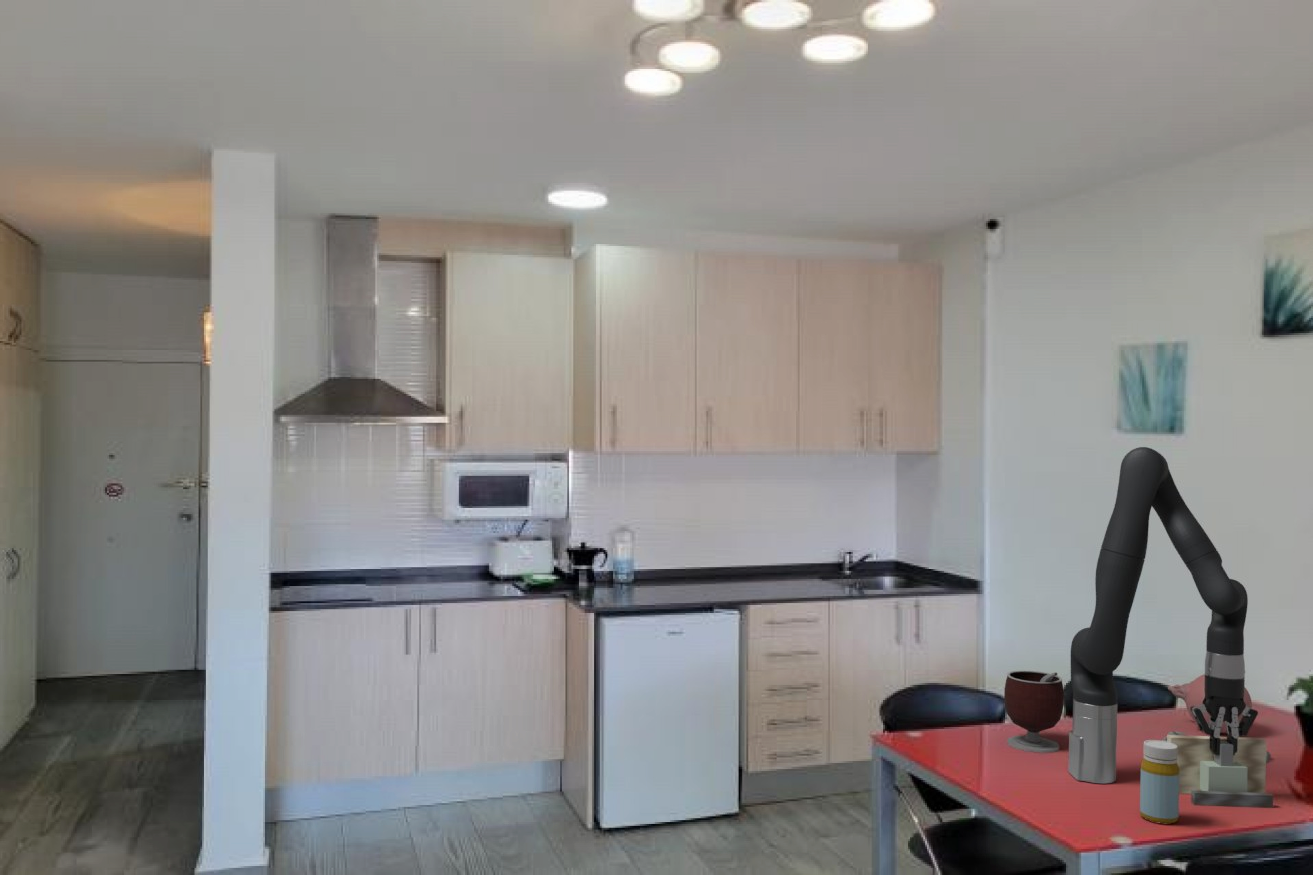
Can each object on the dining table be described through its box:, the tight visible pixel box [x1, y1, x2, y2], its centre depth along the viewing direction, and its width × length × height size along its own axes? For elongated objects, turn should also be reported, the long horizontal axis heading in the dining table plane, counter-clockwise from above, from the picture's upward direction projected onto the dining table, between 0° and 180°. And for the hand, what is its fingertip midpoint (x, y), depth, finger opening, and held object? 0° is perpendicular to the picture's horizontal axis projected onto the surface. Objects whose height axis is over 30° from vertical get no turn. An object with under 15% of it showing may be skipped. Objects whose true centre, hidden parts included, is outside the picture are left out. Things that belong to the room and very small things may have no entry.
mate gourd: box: [1003, 670, 1065, 754], centre depth 261 cm, size 16×14×20 cm
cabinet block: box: [1200, 741, 1247, 792], centre depth 226 cm, size 8×4×10 cm, turn 87°
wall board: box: [1166, 734, 1274, 808], centre depth 225 cm, size 20×9×12 cm, turn 87°
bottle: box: [1139, 739, 1180, 825], centre depth 213 cm, size 7×7×15 cm
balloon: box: [1167, 673, 1253, 734], centre depth 278 cm, size 15×20×15 cm
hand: (1223, 753), depth 226 cm, fingers closed on cabinet block, 2 cm apart
